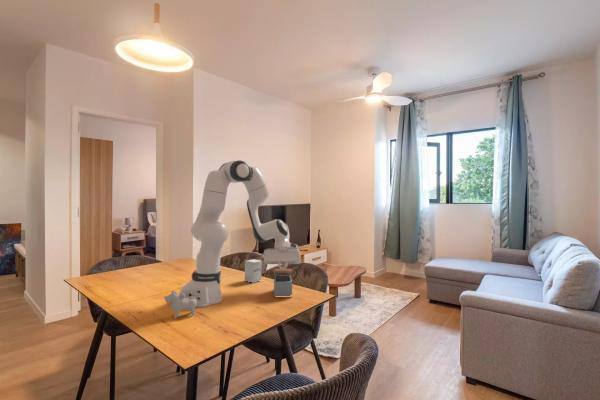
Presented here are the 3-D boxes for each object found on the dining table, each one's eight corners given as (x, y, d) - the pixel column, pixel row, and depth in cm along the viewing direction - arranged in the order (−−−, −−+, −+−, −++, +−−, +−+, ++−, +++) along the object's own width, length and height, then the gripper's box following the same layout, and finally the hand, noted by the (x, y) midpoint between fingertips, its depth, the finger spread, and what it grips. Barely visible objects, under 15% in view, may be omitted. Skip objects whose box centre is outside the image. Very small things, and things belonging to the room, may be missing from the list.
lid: (274, 270, 154) (274, 268, 155) (274, 275, 166) (274, 273, 167) (292, 270, 155) (292, 268, 155) (290, 275, 167) (290, 273, 167)
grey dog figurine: (164, 315, 127) (164, 290, 127) (195, 311, 132) (196, 287, 132) (163, 320, 122) (164, 294, 122) (196, 316, 127) (197, 291, 127)
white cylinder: (252, 283, 177) (253, 262, 177) (244, 281, 182) (244, 260, 182) (261, 281, 183) (262, 260, 183) (253, 279, 188) (253, 258, 188)
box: (274, 297, 153) (274, 281, 153) (273, 289, 166) (274, 275, 166) (291, 297, 154) (292, 281, 154) (290, 289, 167) (290, 275, 167)
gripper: (263, 245, 166) (263, 267, 157) (300, 245, 169) (302, 266, 159) (263, 251, 171) (263, 273, 162) (299, 251, 173) (301, 272, 164)
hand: (283, 270), depth 161 cm, fingers closed, pressing on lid
